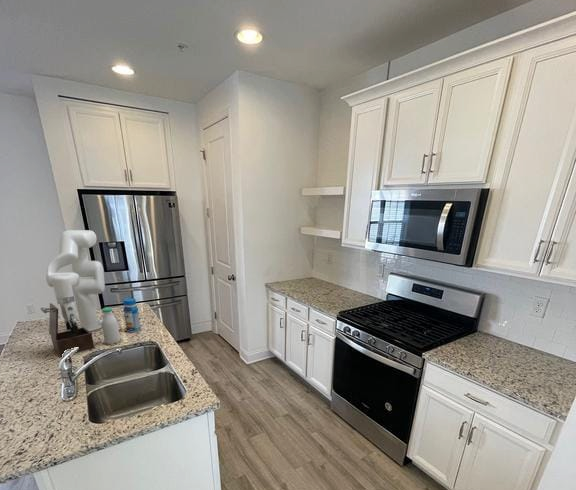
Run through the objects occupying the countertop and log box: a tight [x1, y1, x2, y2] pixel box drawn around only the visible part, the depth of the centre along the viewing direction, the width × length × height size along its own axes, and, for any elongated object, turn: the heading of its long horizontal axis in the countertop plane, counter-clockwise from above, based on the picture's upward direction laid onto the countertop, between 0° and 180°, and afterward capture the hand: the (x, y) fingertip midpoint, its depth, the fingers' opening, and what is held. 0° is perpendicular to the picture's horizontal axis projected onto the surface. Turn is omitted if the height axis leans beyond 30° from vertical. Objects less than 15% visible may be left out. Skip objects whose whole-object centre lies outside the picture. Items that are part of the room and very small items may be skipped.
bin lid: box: [40, 303, 59, 341], centre depth 156 cm, size 16×13×5 cm
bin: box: [50, 327, 95, 358], centre depth 166 cm, size 16×13×9 cm
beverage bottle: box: [122, 297, 142, 333], centre depth 192 cm, size 8×8×20 cm
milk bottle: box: [101, 307, 121, 345], centre depth 174 cm, size 8×8×20 cm
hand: (72, 331), depth 165 cm, fingers open, 7 cm apart
